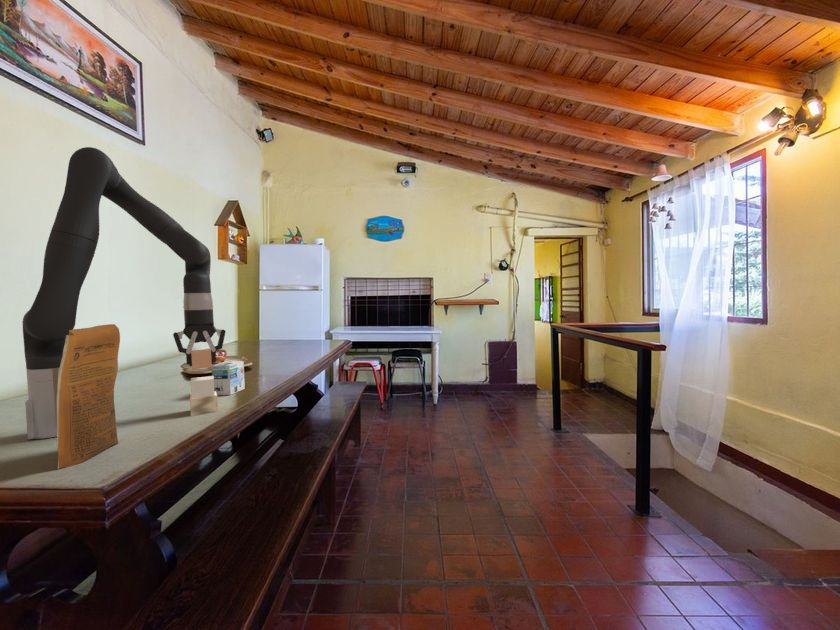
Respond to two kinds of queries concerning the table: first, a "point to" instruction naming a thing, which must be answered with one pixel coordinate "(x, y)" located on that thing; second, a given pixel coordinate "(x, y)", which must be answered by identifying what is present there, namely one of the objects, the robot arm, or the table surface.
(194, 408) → the tower base block
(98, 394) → the pancake mix bag
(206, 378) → the tower top block
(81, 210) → the robot arm
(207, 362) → the terracotta block
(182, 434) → the table surface
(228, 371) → the light bulb box
